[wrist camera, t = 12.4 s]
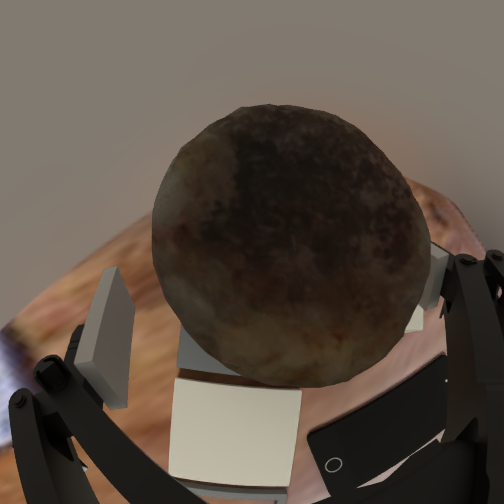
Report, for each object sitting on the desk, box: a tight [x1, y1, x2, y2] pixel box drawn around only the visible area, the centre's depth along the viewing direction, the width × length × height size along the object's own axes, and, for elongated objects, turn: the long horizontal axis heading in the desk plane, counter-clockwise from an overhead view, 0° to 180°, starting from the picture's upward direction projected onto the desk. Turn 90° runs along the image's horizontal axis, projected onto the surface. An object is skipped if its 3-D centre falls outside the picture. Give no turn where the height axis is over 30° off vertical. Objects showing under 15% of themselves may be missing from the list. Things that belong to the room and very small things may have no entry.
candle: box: [152, 104, 431, 388], centre depth 15 cm, size 8×7×20 cm
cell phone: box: [307, 355, 448, 496], centre depth 23 cm, size 9×18×1 cm, turn 111°
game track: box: [169, 324, 302, 504], centre depth 21 cm, size 11×34×1 cm, turn 175°
